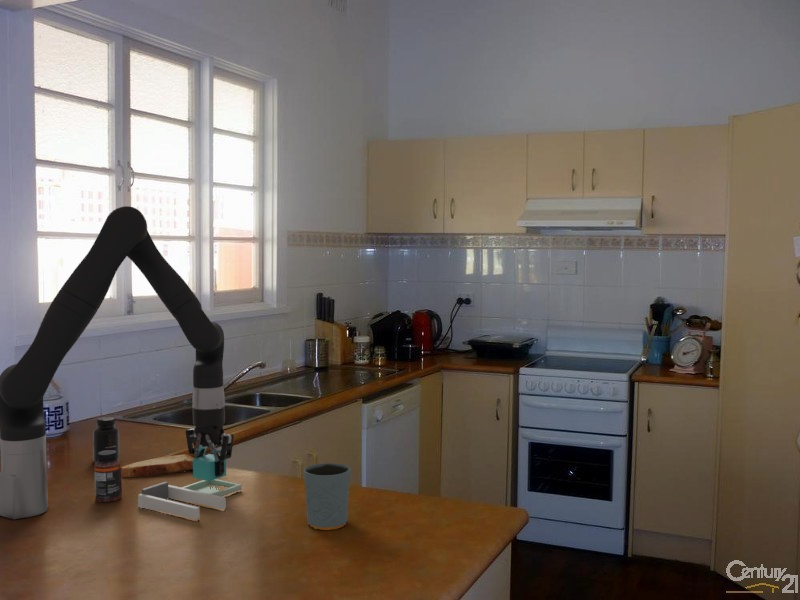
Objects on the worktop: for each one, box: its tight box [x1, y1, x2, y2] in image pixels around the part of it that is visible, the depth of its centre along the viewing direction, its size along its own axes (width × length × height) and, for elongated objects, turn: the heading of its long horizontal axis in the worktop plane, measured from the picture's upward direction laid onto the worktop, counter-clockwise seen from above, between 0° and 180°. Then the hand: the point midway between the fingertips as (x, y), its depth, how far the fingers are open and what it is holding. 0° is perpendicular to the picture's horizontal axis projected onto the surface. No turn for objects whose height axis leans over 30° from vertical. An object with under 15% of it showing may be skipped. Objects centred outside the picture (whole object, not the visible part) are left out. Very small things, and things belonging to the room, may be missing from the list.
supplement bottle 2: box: [93, 450, 123, 503], centre depth 186 cm, size 6×6×11 cm
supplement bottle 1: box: [92, 416, 120, 463], centre depth 220 cm, size 7×7×12 cm
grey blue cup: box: [303, 462, 352, 528], centre depth 170 cm, size 10×10×12 cm
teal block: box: [192, 453, 227, 481], centre depth 190 cm, size 6×6×4 cm
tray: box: [181, 478, 243, 497], centre depth 190 cm, size 11×11×2 cm
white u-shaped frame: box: [137, 481, 227, 519], centre depth 179 cm, size 9×18×4 cm, turn 58°
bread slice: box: [121, 453, 195, 478], centre depth 211 cm, size 18×18×4 cm
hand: (210, 473), depth 190 cm, fingers closed on teal block, 5 cm apart
